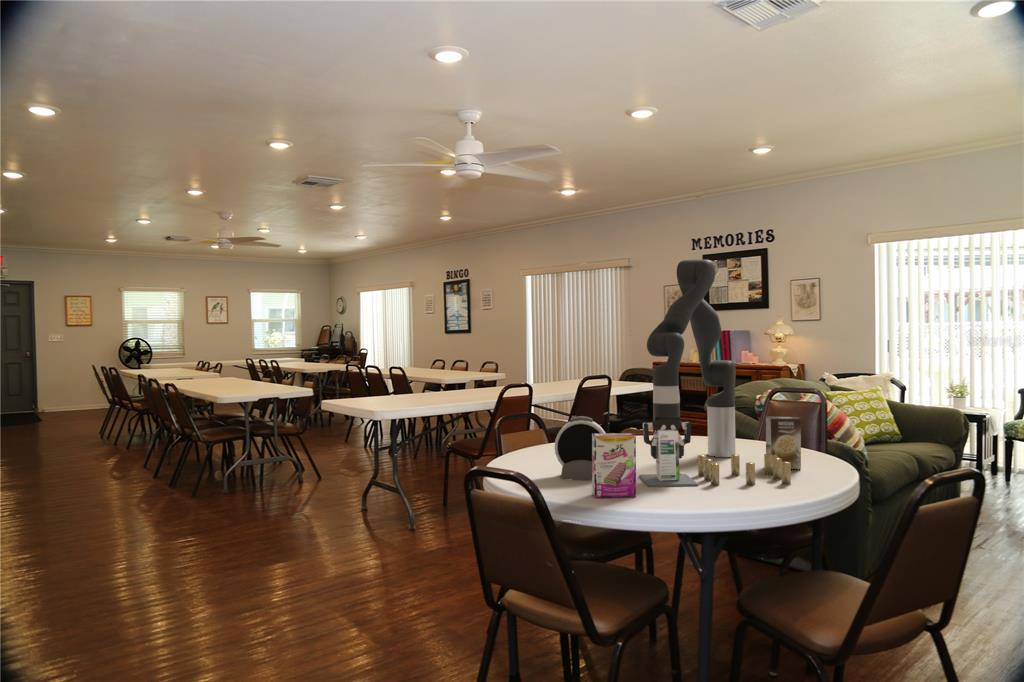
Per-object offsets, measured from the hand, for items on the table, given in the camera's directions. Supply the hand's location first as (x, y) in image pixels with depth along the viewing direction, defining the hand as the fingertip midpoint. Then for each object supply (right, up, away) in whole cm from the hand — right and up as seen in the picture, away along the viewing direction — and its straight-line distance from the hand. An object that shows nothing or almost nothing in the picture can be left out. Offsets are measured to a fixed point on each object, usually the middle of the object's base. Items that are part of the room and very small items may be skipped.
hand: (667, 458), depth 196 cm
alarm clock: (-24, -7, +8) cm, 26 cm away
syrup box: (0, -6, 0) cm, 6 cm away
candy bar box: (-18, -7, -17) cm, 26 cm away
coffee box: (+40, -6, +16) cm, 44 cm away
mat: (0, -7, 0) cm, 7 cm away
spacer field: (+22, -6, 0) cm, 23 cm away
